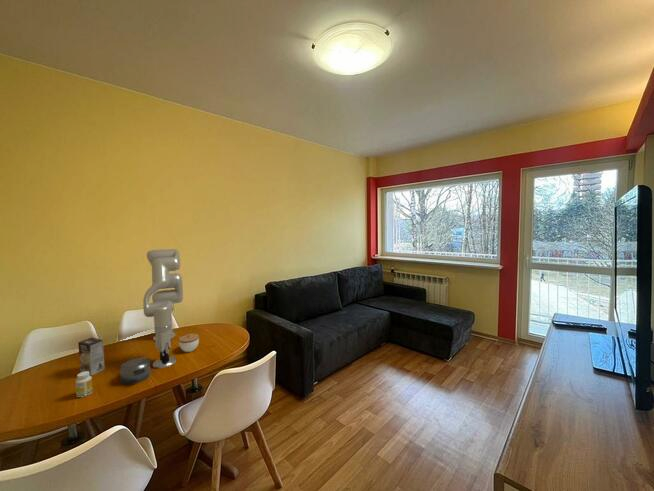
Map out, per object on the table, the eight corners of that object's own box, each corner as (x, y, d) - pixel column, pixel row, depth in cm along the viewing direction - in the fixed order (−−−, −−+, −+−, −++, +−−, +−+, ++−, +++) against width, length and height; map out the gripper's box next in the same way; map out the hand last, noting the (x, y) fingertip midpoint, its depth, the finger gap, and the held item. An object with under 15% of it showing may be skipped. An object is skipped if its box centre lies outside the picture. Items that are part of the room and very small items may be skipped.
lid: (150, 363, 147) (149, 353, 146) (172, 355, 155) (172, 346, 154) (156, 370, 139) (155, 360, 139) (179, 362, 147) (178, 352, 147)
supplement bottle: (77, 399, 117) (75, 378, 116) (75, 394, 120) (73, 374, 119) (93, 393, 121) (92, 373, 120) (91, 388, 124) (89, 368, 123)
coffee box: (79, 372, 137) (77, 342, 136) (94, 366, 143) (91, 337, 142) (91, 375, 134) (89, 344, 133) (105, 369, 140) (103, 339, 139)
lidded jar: (203, 346, 167) (202, 331, 166) (192, 354, 156) (192, 338, 155) (186, 345, 168) (186, 330, 167) (175, 353, 157) (174, 338, 156)
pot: (117, 375, 135) (116, 362, 134) (146, 366, 143) (145, 353, 143) (125, 389, 123) (124, 375, 123) (155, 378, 132) (154, 365, 132)
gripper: (150, 326, 148) (152, 358, 150) (159, 334, 137) (161, 369, 139) (165, 322, 154) (167, 353, 155) (175, 330, 142) (177, 363, 144)
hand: (164, 360), depth 147 cm, fingers closed on lid, 2 cm apart
